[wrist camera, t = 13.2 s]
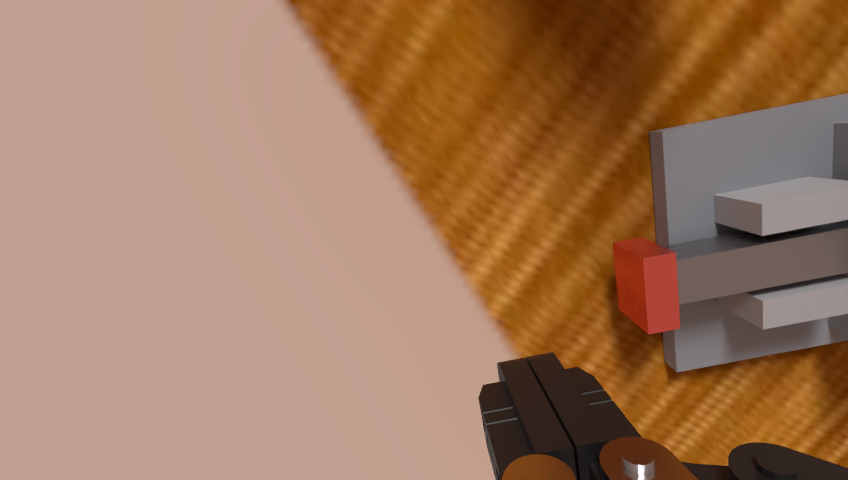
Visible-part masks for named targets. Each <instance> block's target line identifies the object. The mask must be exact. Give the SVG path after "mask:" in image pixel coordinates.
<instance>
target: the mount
mask: <svg viewBox="0 0 848 480" xmlns="http://www.w3.org/2000/svg"><path fill="white" fill-rule="evenodd" d="M649 136H650V151H651V166H652V181H653V196H654V211H655V226H656V241H657V244H658V245H661V246H667V245H672V244H678V243H683V242H688V241H693V240H699V239H704V238H709V237H714V236H719V235H725V234H730V233H735V232H740V231H747V232H750V233H754V234H757V235H761V236H765V235H770V234H775V233H780V232H786V231H791V230H796V229H801V228H807V227H812V226H817V225H822V224H828V223H833V222H838V221H843V220H848V93H846V94H841V95H836V96H831V97H825V98H820V99H815V100H810V101H805V102H800V103H795V104H789V105H784V106H779V107H774V108H769V109H764V110H759V111H753V112H748V113H743V114H738V115H733V116H728V117H723V118H717V119H712V120H707V121H702V122H697V123H692V124H687V125H681V126H676V127H671V128H666V129H661V130H656V131H651V132H649ZM679 315H680V329H675V330H670V331H664V332H663V345H664V360H665V362H666V363H667V364H668V365H669V366H670V367H671V368H672V369H673V370H675V371H676V372H682V371H687V370H693V369H698V368H703V367H709V366H714V365H719V364H725V363H730V362H735V361H741V360H746V359H751V358H757V357H762V356H767V355H773V354H778V353H783V352H789V351H794V350H800V349H805V348H810V347H816V346H821V345H826V344H832V343H837V342H842V341H848V273H844V274H838V275H833V276H828V277H823V278H817V279H812V280H807V281H801V282H796V283H791V284H786V285H780V286H775V287H770V288H764V289H759V290H754V291H749V292H743V293H738V294H733V295H727V296H722V297H717V298H712V299H706V300H701V301H696V302H690V303H685V304H680V305H679Z"/></svg>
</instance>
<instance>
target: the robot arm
mask: <svg viewBox="0 0 848 480" xmlns="http://www.w3.org/2000/svg"><path fill="white" fill-rule="evenodd" d="M497 366H498V374H499V380H500V382H497V383H491V384H486V385H483V387H482V390H481V392H480V395H479V403H480V409H481V414H482V420H483V426H484V432H485V437H486V443H487V448H488V452H489V456H490V459H491V463H492V466H493V471H494V475H495V478H496V480H848V468H845V467H842V466H839V465H837V464H834V463H831V462H828V461H825V460H822V459H819V458H816V457H813V456H810V455H807V454H804V453H801V452H798V451H795V450H792V449H789V448H786V447H782V446H779V445H774V444H769V443H747V444H743V445H740V446H738V447H736V448H734V449H733V450H732V451H731V453H730V455H729V459H728V464H729V466H719V465H704V464H692V463H686V462H681V461H679V460H678V459H677V458H676V457H675V456H674V454H673V453H672V452H670V451H669V450H668V449H667V448H665V447H664V446H662V445H661V444H659V443H657V442H654V441H652V440H649V439H645V438H642V437H641V436H640V434H639V433H638V432H637V431H636V429H635V428H634V427H633V426H632V424H631V423H630V422H629V420H628V419H627V418H626V417H625V415H624V414H623V413H622V412H621V410H620V409H619V408H618V407H617V405H616V404H615V403H614V401H612V400H611V398H610V396H609V395H608V394H607V393H606V391H604V390H603V387H602V386H601V385H600V384H599V382H598V381H597V380H596V379H595V377H594V376H593V375H591V374H589V373H587V372H585V371H584V370H582V369H580V368H578V367H575V368H570V369H564V367H563V366H562V364H561V363H560V361H559V360H558V358H557V357H556V356H555V354H554V353H553V352H551V353H545V354H540V355H535V356H530V357H526V358H520V359H515V360H509V361H504V362H499V363H498V364H497Z"/></svg>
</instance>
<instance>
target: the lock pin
mask: <svg viewBox="0 0 848 480" xmlns="http://www.w3.org/2000/svg"><path fill="white" fill-rule="evenodd" d="M613 252H614V263H615V274H616V285H617V296H618V306H619V310H620V311H621V312H622V313H623V314H625V315H626V316H627V317H628V318H629V319H631V320H632V321H633V322H634V323H635V324H636V325H638V326H639V327H640V328H641V329H642V330H644V331H645V332H646V333H647V334H654V333H659V332H664V331H670V330H675V329H680V315H679V305H680V304H685V303H690V302H696V301H701V300H706V299H712V298H717V297H722V296H727V295H733V294H738V293H743V292H749V291H754V290H759V289H764V288H770V287H775V286H780V285H786V284H791V283H796V282H801V281H807V280H812V279H817V278H823V277H828V276H833V275H838V274H844V273H848V220H843V221H838V222H833V223H828V224H822V225H817V226H812V227H807V228H801V229H796V230H791V231H786V232H780V233H775V234H770V235H765V236H761V235H757V234H754V233H750V232H747V231H740V232H735V233H730V234H725V235H719V236H714V237H709V238H704V239H699V240H693V241H688V242H683V243H678V244H672V245H667V246H661V245H658V244H656V243H654V242H652V241H649V240H647V239H645V238H642V237H640V238H634V239H629V240H624V241H619V242H614V243H613Z"/></svg>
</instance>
